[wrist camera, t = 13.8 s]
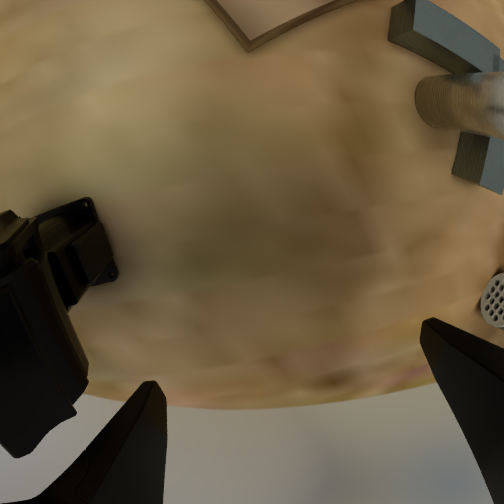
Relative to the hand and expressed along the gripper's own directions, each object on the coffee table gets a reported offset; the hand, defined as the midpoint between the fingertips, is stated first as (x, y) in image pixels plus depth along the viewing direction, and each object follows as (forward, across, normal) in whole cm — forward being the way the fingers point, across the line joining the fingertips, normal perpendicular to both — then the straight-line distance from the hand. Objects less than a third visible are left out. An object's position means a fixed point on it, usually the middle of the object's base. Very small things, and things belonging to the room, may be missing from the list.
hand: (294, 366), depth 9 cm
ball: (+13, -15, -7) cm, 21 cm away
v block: (+13, -18, -8) cm, 23 cm away
